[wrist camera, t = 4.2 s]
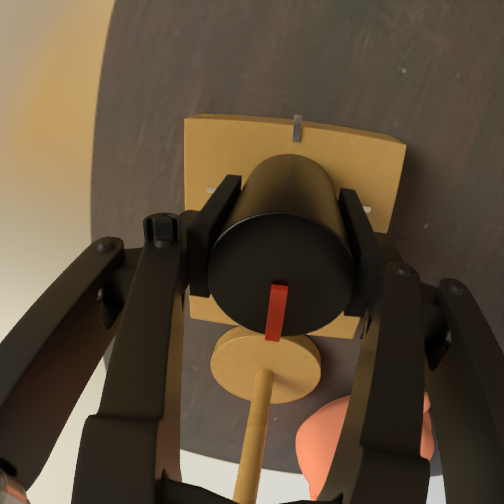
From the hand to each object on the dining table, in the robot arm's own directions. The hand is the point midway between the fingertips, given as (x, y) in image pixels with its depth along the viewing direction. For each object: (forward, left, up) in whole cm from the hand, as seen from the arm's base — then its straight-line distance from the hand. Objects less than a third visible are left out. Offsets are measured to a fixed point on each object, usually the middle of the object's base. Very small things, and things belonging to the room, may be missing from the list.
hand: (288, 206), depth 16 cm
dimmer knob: (0, 0, -1) cm, 1 cm away
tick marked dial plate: (+3, 0, -4) cm, 5 cm away
